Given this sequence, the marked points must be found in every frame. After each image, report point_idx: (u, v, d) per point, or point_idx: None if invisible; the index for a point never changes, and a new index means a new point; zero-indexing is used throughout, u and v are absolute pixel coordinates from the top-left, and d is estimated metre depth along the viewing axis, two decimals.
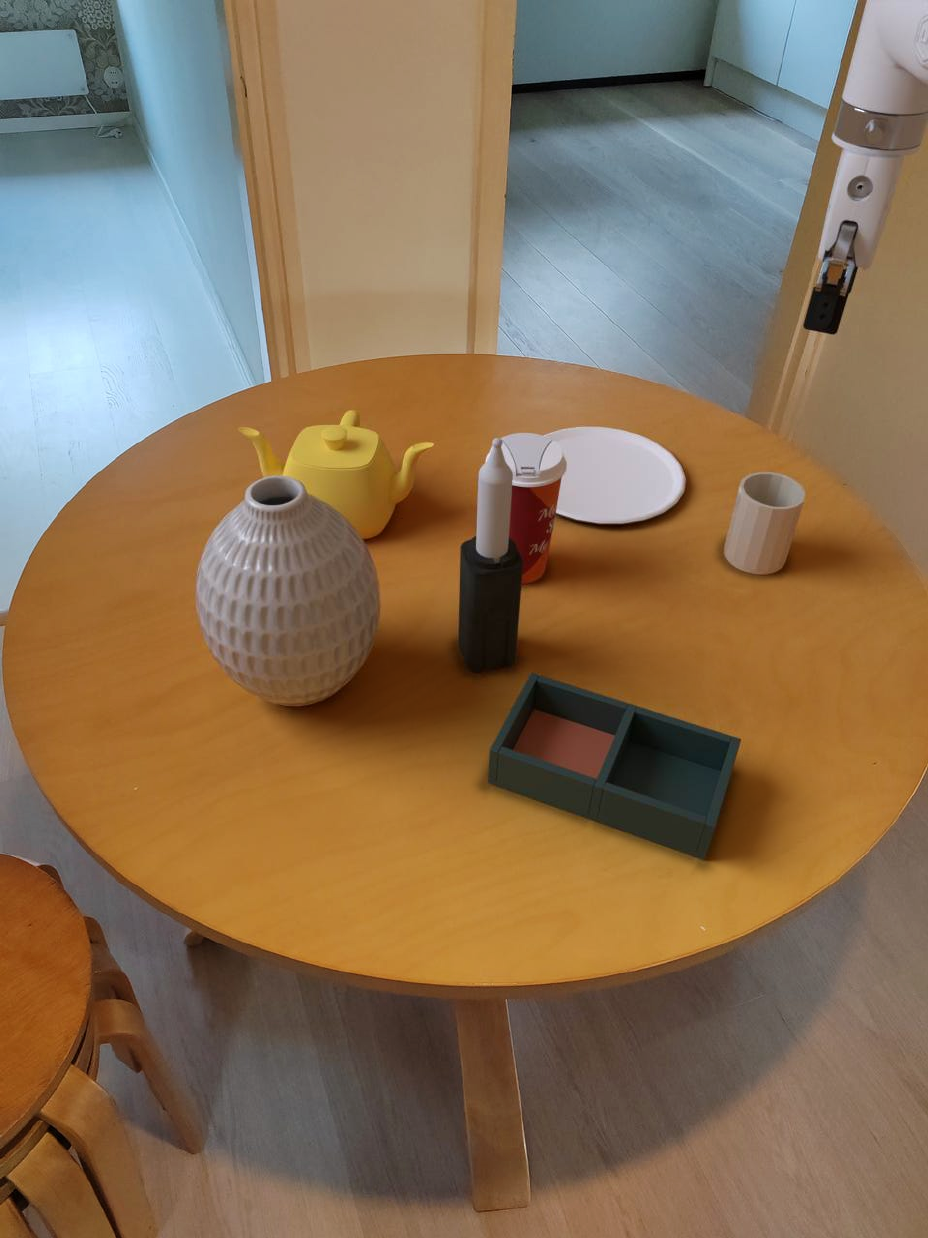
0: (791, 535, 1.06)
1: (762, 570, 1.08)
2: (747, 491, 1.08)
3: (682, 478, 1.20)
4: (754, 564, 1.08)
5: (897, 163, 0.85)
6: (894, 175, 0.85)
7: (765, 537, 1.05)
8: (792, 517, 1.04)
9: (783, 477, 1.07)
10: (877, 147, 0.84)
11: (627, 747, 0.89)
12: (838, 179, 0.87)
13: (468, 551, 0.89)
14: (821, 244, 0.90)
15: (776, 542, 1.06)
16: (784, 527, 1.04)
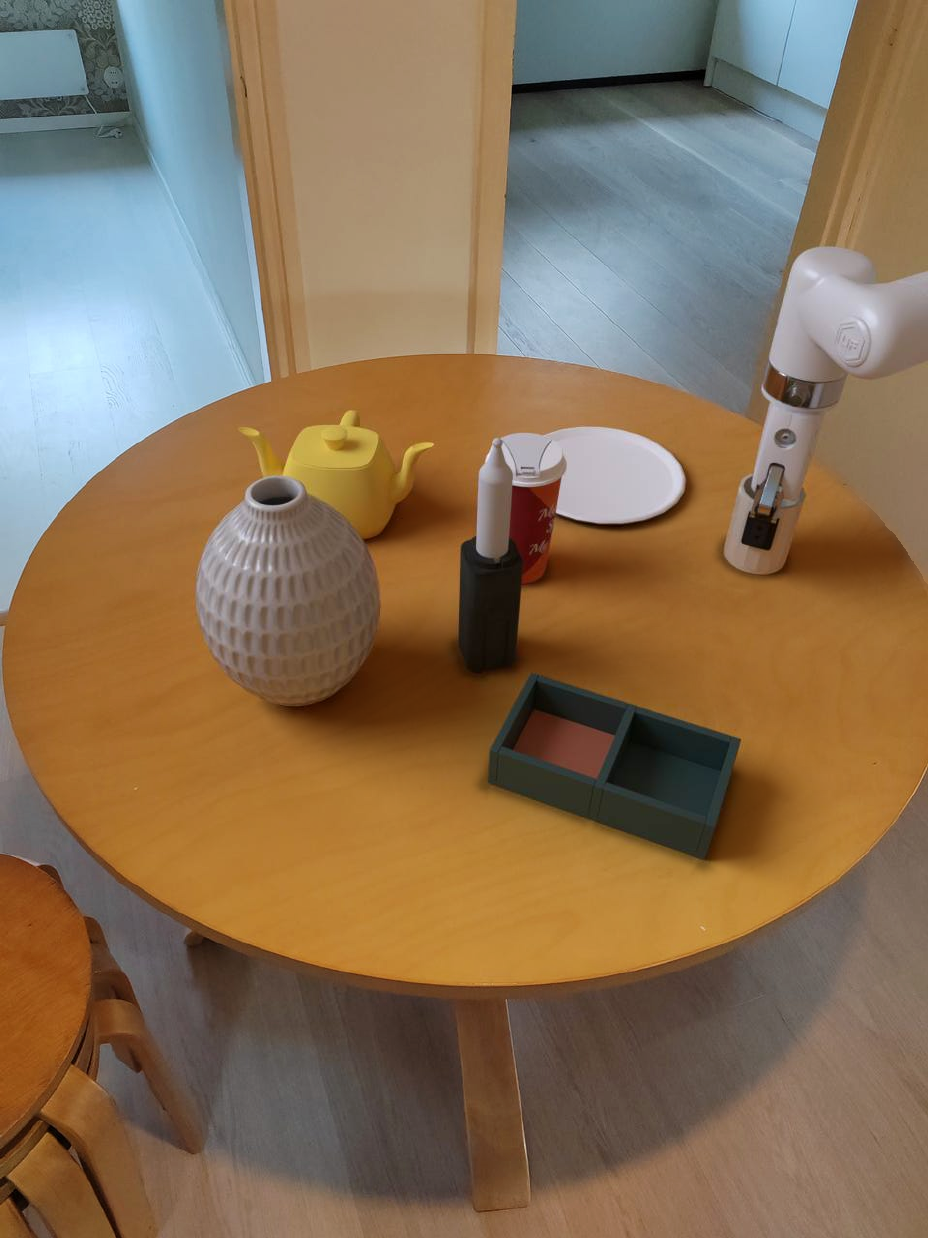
0: (791, 535, 1.06)
1: (762, 570, 1.08)
2: (747, 491, 1.08)
3: (682, 478, 1.20)
4: (754, 564, 1.08)
5: (817, 419, 0.94)
6: (815, 429, 0.95)
7: None
8: (792, 517, 1.04)
9: None
10: (799, 406, 0.94)
11: (627, 747, 0.89)
12: (766, 428, 0.96)
13: (468, 551, 0.89)
14: (753, 478, 1.00)
15: (776, 542, 1.06)
16: (784, 527, 1.04)
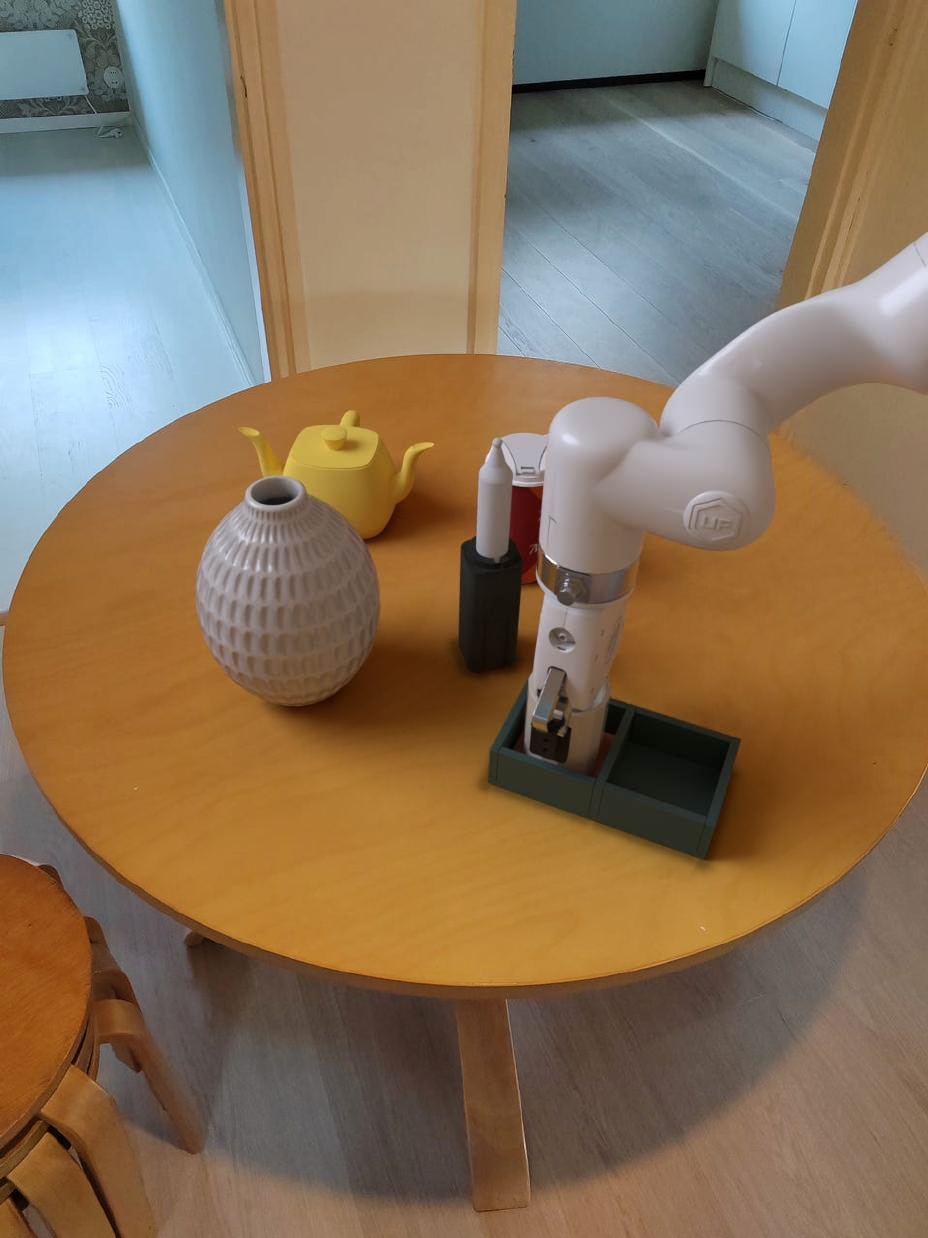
0: (596, 741, 0.83)
1: None
2: None
3: None
4: None
5: (601, 617, 0.71)
6: (599, 629, 0.72)
7: None
8: (591, 723, 0.81)
9: None
10: (576, 600, 0.71)
11: (627, 747, 0.89)
12: (539, 624, 0.73)
13: (468, 551, 0.89)
14: (533, 681, 0.77)
15: (575, 751, 0.83)
16: (582, 735, 0.82)
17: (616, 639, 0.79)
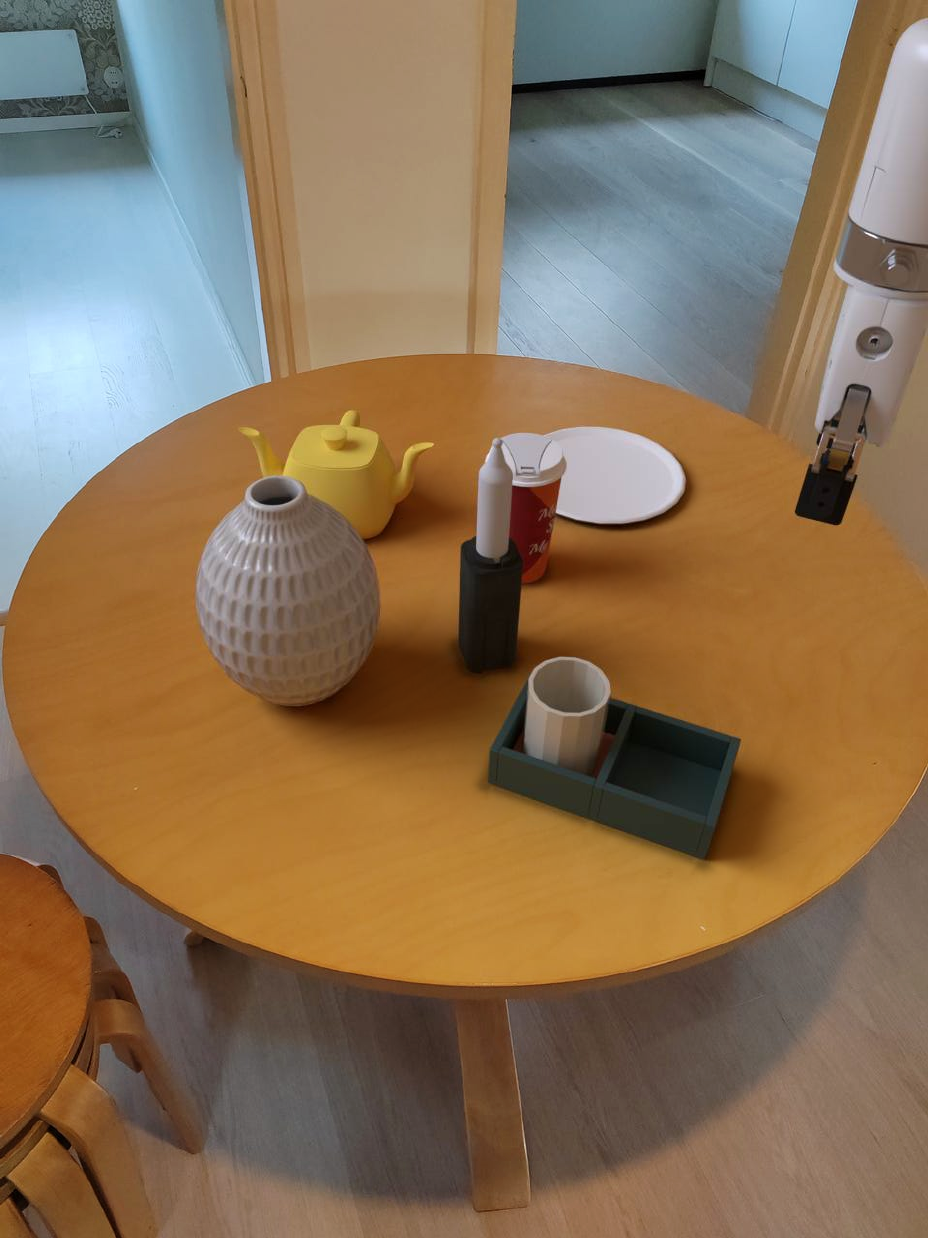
0: (596, 741, 0.83)
1: None
2: (544, 680, 0.85)
3: (682, 478, 1.20)
4: None
5: None
6: (923, 326, 0.59)
7: (560, 746, 0.82)
8: (591, 723, 0.81)
9: (587, 665, 0.84)
10: (899, 288, 0.59)
11: (627, 747, 0.89)
12: (843, 328, 0.61)
13: (468, 551, 0.89)
14: (819, 411, 0.64)
15: (575, 751, 0.83)
16: (582, 735, 0.82)
17: None
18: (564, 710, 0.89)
